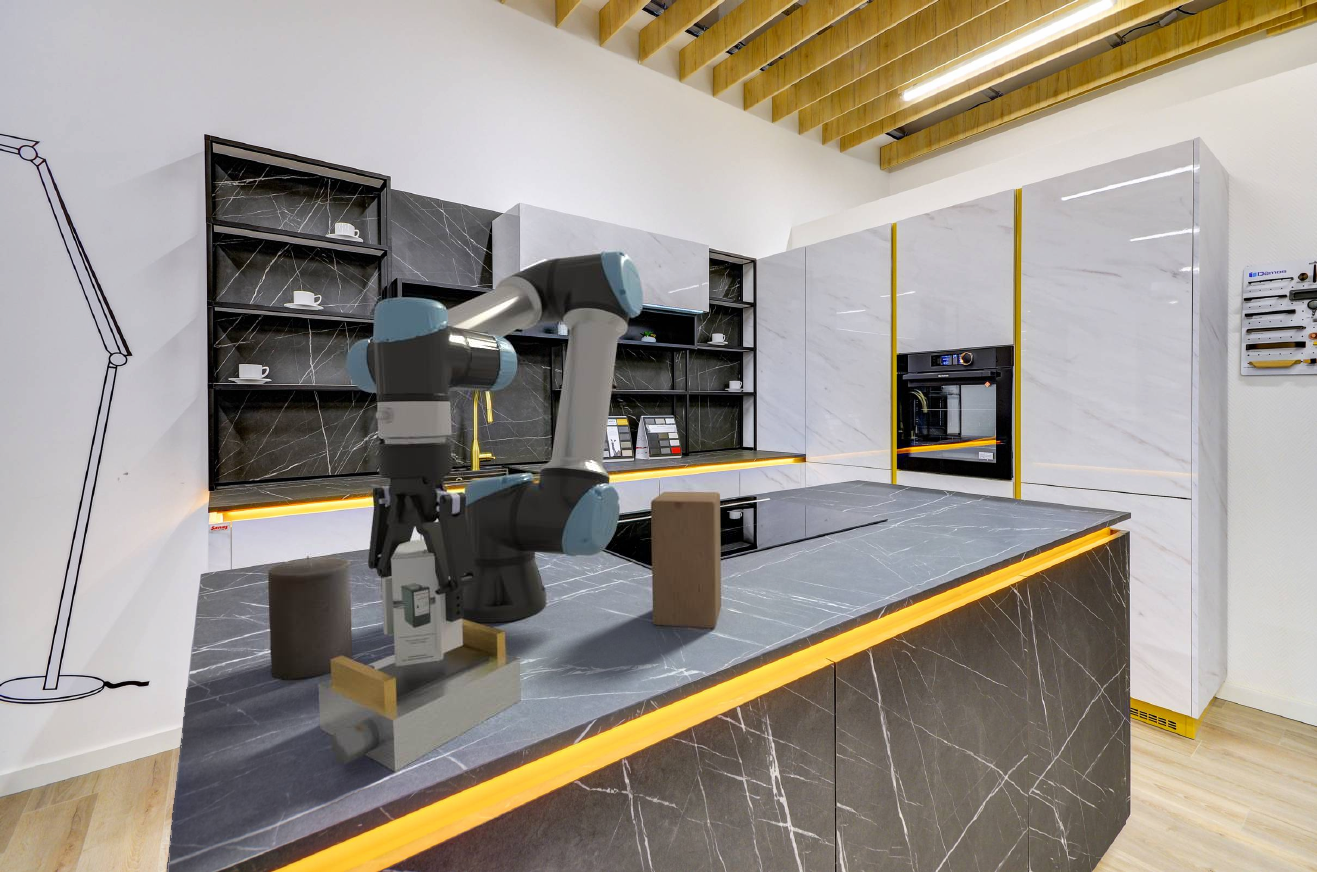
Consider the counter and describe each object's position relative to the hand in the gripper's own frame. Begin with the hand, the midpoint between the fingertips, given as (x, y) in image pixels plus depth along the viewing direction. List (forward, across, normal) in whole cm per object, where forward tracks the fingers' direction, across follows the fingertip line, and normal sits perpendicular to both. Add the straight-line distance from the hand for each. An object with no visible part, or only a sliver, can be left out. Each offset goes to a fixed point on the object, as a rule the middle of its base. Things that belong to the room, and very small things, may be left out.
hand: (422, 639), depth 65 cm
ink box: (+1, 0, 0) cm, 1 cm away
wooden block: (+9, +10, +42) cm, 44 cm away
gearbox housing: (+9, 0, -1) cm, 9 cm away
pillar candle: (+9, -25, 0) cm, 27 cm away
